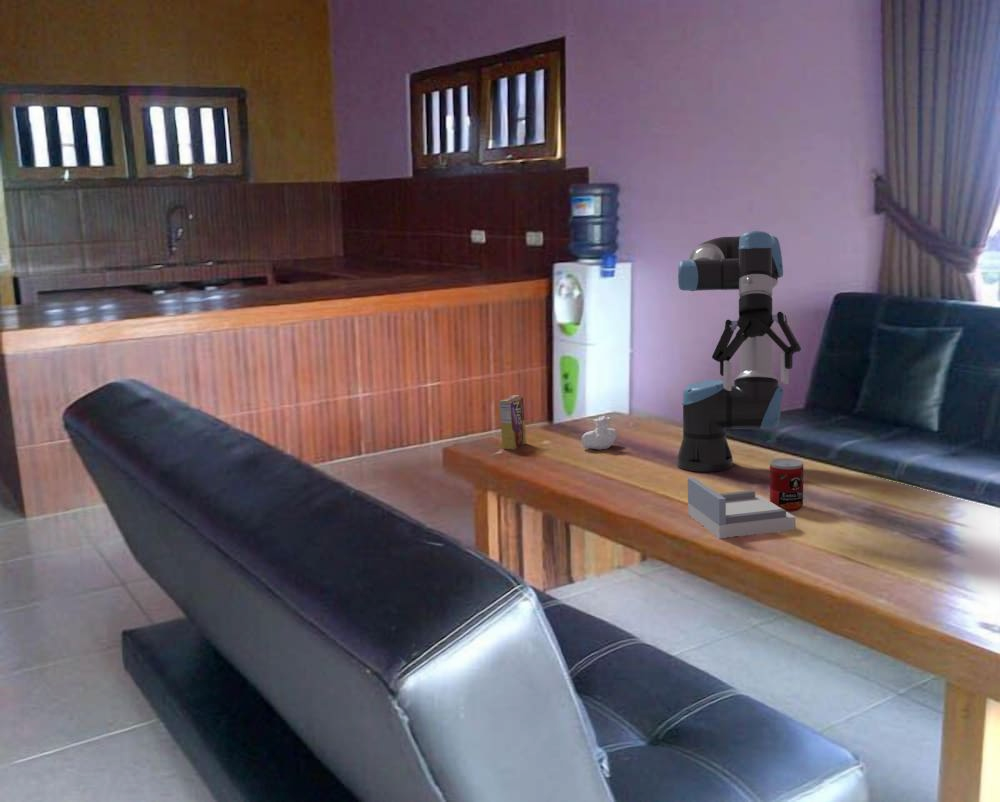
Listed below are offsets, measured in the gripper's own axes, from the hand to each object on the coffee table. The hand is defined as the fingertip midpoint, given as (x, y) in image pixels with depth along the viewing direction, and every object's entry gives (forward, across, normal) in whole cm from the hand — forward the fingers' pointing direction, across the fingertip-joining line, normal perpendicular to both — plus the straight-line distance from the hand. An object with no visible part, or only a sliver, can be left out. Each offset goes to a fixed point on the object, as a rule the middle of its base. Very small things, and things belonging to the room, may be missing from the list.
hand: (755, 386), depth 229 cm
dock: (+29, -7, +8) cm, 31 cm away
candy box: (0, -94, +38) cm, 102 cm away
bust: (0, -69, +47) cm, 84 cm away
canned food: (+24, -2, +23) cm, 33 cm away
